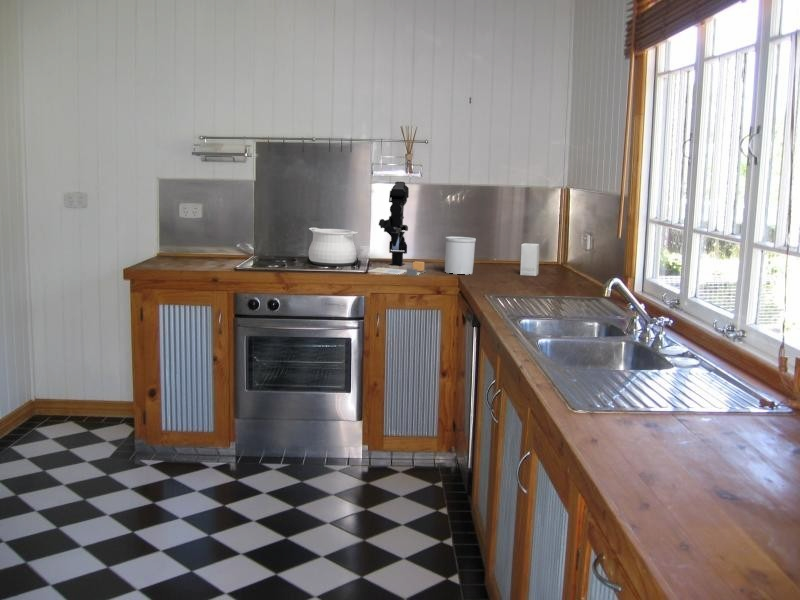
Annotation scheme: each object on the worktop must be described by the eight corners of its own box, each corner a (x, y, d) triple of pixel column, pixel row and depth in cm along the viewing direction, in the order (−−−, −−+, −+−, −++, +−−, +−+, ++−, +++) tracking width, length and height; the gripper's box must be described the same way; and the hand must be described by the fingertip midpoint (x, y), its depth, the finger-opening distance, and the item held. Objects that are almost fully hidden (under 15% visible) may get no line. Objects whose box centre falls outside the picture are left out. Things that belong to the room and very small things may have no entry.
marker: (393, 248, 437) (393, 232, 436) (399, 249, 436) (400, 232, 435) (391, 249, 434) (391, 232, 433) (397, 250, 433) (398, 233, 432)
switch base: (415, 271, 435) (416, 265, 434) (425, 272, 433) (425, 266, 433) (406, 274, 422) (406, 268, 421) (416, 275, 420) (416, 269, 420)
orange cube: (415, 269, 433) (415, 261, 432) (424, 270, 432) (424, 262, 431) (412, 270, 429) (413, 262, 429) (421, 271, 428) (421, 262, 427)
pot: (295, 263, 448) (296, 228, 445) (324, 259, 468) (325, 226, 466) (340, 269, 433) (342, 233, 430) (368, 264, 454) (369, 230, 451)
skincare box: (538, 274, 442) (540, 243, 439) (536, 276, 436) (538, 245, 433) (521, 273, 444) (523, 242, 442) (519, 275, 438) (521, 243, 436)
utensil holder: (448, 270, 446) (450, 235, 443) (477, 272, 441) (479, 237, 438) (439, 273, 432) (441, 237, 429) (469, 276, 427) (471, 240, 424)
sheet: (378, 268, 441) (378, 267, 441) (409, 271, 436) (409, 270, 436) (367, 271, 427) (367, 270, 427) (398, 274, 422) (398, 273, 422)
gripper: (388, 212, 444) (386, 243, 446) (374, 214, 426) (373, 246, 429) (408, 213, 440) (407, 245, 443) (396, 215, 423) (394, 247, 425)
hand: (395, 246), depth 435 cm, fingers closed on marker, 3 cm apart
